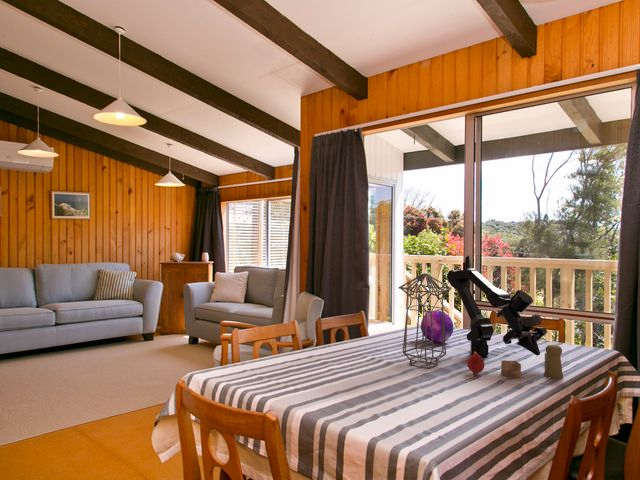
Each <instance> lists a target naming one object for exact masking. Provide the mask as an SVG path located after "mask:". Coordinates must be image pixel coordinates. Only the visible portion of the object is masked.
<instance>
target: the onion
mask: <svg viewBox="0 0 640 480" xmlns="http://www.w3.org/2000/svg"><path fill="white" fill-rule="evenodd" d="M466 365H467V368H468V369H469V370H470V371H471V373H472V374H473V375H479V373H481V372H482V371H483V370H484V369H485V361H484V359H483V357H481V356H480V355H478V354H477V352H474V354H473V355H470V356H469V357H468V358H467V362H466Z"/></svg>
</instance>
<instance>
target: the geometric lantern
mask: <svg viewBox="0 0 640 480" xmlns="http://www.w3.org/2000/svg"><path fill="white" fill-rule="evenodd" d="M425 280H426V283H427V285H425V284H423V283H424V281H425ZM437 282H438V283H439V284H441V285H443V286H439V284H438V283H437ZM409 284H410V285H409ZM407 285H409V286H407ZM421 287H422V288H423V289H424V290H420V289H421ZM452 288H453V287H452V286H451V287H450V286H449V285H447V284H445V283H444V282H442V281H440V280H439V279H437V278H435V277H433V276H431V275H430V274H429V273H427V272H426V273H421V274H420V275H418V276H417V277H414V278H413V279H411V280H409V281H407V282H406V283H404V284H402V285H400V286H399V287H398V289H399V290H401V291H403V292H404V293H405V294H406V305H405V307H406V313H405V323H404V334H403V343H402V344H403V346H402V355H404V356H405V357H406V358H407V359H408V360H409V366H412V367H416V368H422V369H426V370H429V369H432V368H435V367H436V366H438V365H439V362H438V361H439V360H441V358H443V357H445V356H447V345H446V341H445V328H444V313H445V312H444V308H445V307H444V298H445V297H446V295H447V294H448V293H449V292H450V291H451V290H452ZM418 293H423V294H421V295H419V296H418ZM428 294H429V295H428ZM426 295H428V296H427V298H426V299H425V301H424V302H423V303H422V301H421V300H420V298H422V297H424V296H426ZM413 296H414V297H413ZM431 296H434V297H436V298H437V300H436V301H435V304H434V305H433V306H431V305H426V303H427V301H428V300H429V299H430V297H431ZM440 296H441V297H440ZM409 298H410V299H411V301H410V303H409ZM413 300H417V302H418V304H416V305H412V303H413ZM438 302H440V304H441V307H440V306H436V305H437V303H438ZM408 303H409V304H408ZM408 305H409V306H408ZM411 305H412V306H411ZM414 307H418V309H416V308H414ZM421 307H422V309H421ZM425 307H429V308H431V310H427V309H426V308H425ZM434 309H435V310H434ZM409 310H410V311H417V322H416V323H417V324H416V336H415V337H416V338H415V339H416V340H415V347H413V348H409V349H407V338H408V317H409ZM434 311H442V342H441V350H437V349H434V342H433V331H432V312H434ZM420 312H422V319H423V333H422V338H421V340H422V341H421V347H419V346H418V338H419V337H418V336H419V323H420ZM428 312H429V313H430V316H431V341H430V342H431V348H427V343H428V342H427V341H428V339H427V313H428ZM424 316H425V336H424ZM443 335H444V342H443ZM418 349H419V350H420V353H419V352H418ZM414 350H415V351H416V355H413V354H410V353H407V352H411V351H414ZM423 350H424V355H422V354H423ZM427 351H431V356H427ZM434 352H437V353H439V355H437V356H434ZM419 354H420V355H419ZM410 357H411V358H410ZM415 359H419V360H415ZM429 360H430V361H429ZM415 363H422V364H423V365H424V364H426V367H425V366H421V365H416V364H415ZM414 364H415V365H414ZM431 364H432V365H433V366H431ZM428 365H429V367H428Z"/></svg>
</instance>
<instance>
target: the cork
mask: <svg viewBox="0 0 640 480" xmlns="http://www.w3.org/2000/svg"><path fill="white" fill-rule="evenodd" d="M545 351H546V353H547V360H546V366H545V365H544V373H543V377H546V378H549V379H553V380H562V379H564V375H563V374H564V373H563V367H562V366H563V365H562V359H561V355H563V349H562V347H561V346H560V345H557V344H548V345H546V347H545Z"/></svg>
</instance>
